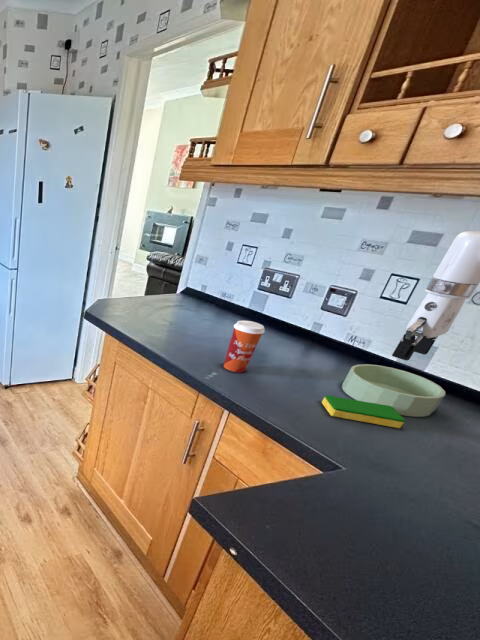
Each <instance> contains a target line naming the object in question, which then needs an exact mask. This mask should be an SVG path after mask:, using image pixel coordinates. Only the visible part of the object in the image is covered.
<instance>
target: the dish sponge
mask: <svg viewBox="0 0 480 640" xmlns="http://www.w3.org/2000/svg"><path fill="white" fill-rule="evenodd" d="M321 404H322V406H323V407H324V408H325V410H326V411H327V413H328V414H329V415H330V416H331V417H335V418H340V419H341V418H342V419H346V420H351V421H358V422H362V423H367V424H373V425H379V426H385V427H390V428H395V429H401V427H402V426H403V425H404V423H405V421H406V419H405V418H404V417H403V415H400V414H399V413H398V412H397V411H396V410H395V409H394V408H393V407H391V406H387V405H381V404H375V403H369V402H364V401H358V400H355V399H353V398H352V399H351V398H347V397H346V398H345V397H339V396H333V395H328V394H325V395H324V397H323V399H322V401H321Z"/></svg>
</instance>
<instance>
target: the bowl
mask: <svg viewBox="0 0 480 640" xmlns="http://www.w3.org/2000/svg"><path fill="white" fill-rule="evenodd" d="M341 389H342V391H343V392H344V393H345V394H346V395H347V396H348V397H350V398H352V399H353V400H358V401H364V402H369V403H375V404H381V405H387V406H391V407H393V408H394V409H395V410H396V411H397V412H398V413H399V414H400V415H401V416H405V417H412V418H413V417H414V418H417V417H418V418H420V417H421V418H422V417H429V416H431V415H432V414H433V412H435V411H436V410H437V408H438V407H439V405H440V404H441V402H442V401H443V399H444V398H445V396H446V391H445V390H444V389H443V388H442V386H441V385H439V384H437V383H435V382H434V381H432V380H430V379H428V378H426V377H423V376H421V375H418V374H415V373H412V372H409V371H406V370H402V369H398V368H394V367H389V366H385V365H378V364H369V363H368V364H367V363H365V364H363V363H362V364H356V365H353V366H351V368H350V369H349V371H348V372H347V374H346V377H345V379H344V381H343V382H342V385H341Z"/></svg>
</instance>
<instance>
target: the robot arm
mask: <svg viewBox="0 0 480 640" xmlns="http://www.w3.org/2000/svg"><path fill="white" fill-rule="evenodd" d="M479 285H480V231H479V230H466V231H461V232H460V233H458V234H457V235H456V236H455V238H454V239H453V240H452V243H451V244H450V246H449V247H448V250H447V252H446V253H445V254H444V256H443V258H442V260H441V262H440V263H439V265H438V267H437V268H436V270H435V272H434V273H433V275H432V277H431V278H430V281H429V282H428V284H427V285H426V287H425V289H424V292H426V293H427V294H426V295H425V297H424V299H423V300H422V301H421V303H420V304H419V306H418V307H417V308H416V311H414V313H413V315H412V316H411V318H410V320H409V322H408V323H407V326H406V327H405V333H404V334H403V335H402V337H401V339H400V340H399V342H398V344H397V346H396V348H395V349H394V351H393V352H392V354H391V356H392V357H393V358H396V359H399V360H403V361H406V362H407V361H409V360H410V359H411V358H412V356H413V354H414V353H417V354H421V355H423V356H424V355H428V353H429V351H430V350H431V348H432V347H433V346H434V344H435V342H436V340H437V339H438V337H439V336H442V335H445V334H447V333H448V332H449V331H450V328H451V327H452V325H453V323H454V322H455V320H456V318H457V316H458V314H459V313H460V310H461V309H462V307H463V306H464V303H465V301H466V300H468V299H471V297H472V296H473V294H474V292H475V291H476V290H477V288H478V286H479Z"/></svg>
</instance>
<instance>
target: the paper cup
mask: <svg viewBox="0 0 480 640" xmlns="http://www.w3.org/2000/svg"><path fill="white" fill-rule="evenodd" d="M265 332H266V330H265V327H264V325H263V324H261V323H259V322H255V321H252V320H237V321H236V323H235V324H234V325H233V330H232V334H231V338H230V341H229V343H228V346H227V347H228V348H227V351H226V355H225V359H224V362H223V368H224V369H226V370H228V371H230V372H233V373H244V372H245V371H246V369H247V367H248V364H249V363H250V361H251V358H252V357H253V355H254V352H255V351H256V350H255V349H257V346H258V344H259V342H260V340H261V337H262V335H263V334H264V333H265Z"/></svg>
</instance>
